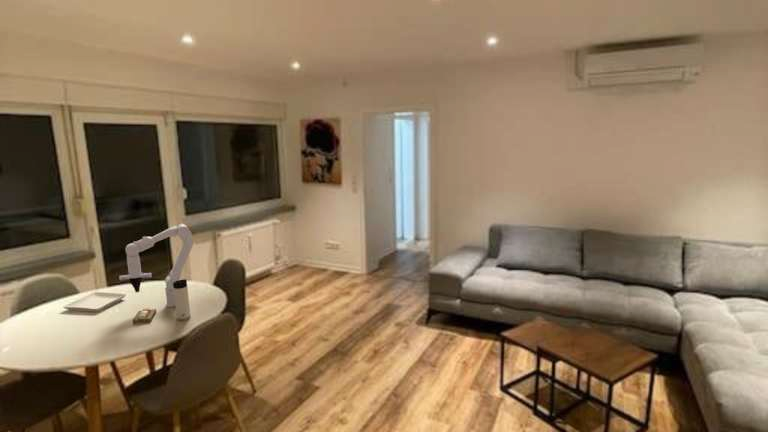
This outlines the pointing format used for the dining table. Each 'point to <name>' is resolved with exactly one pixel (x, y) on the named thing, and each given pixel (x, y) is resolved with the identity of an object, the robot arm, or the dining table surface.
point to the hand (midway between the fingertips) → (137, 291)
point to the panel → (148, 319)
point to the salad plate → (95, 301)
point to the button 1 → (142, 316)
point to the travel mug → (181, 300)
